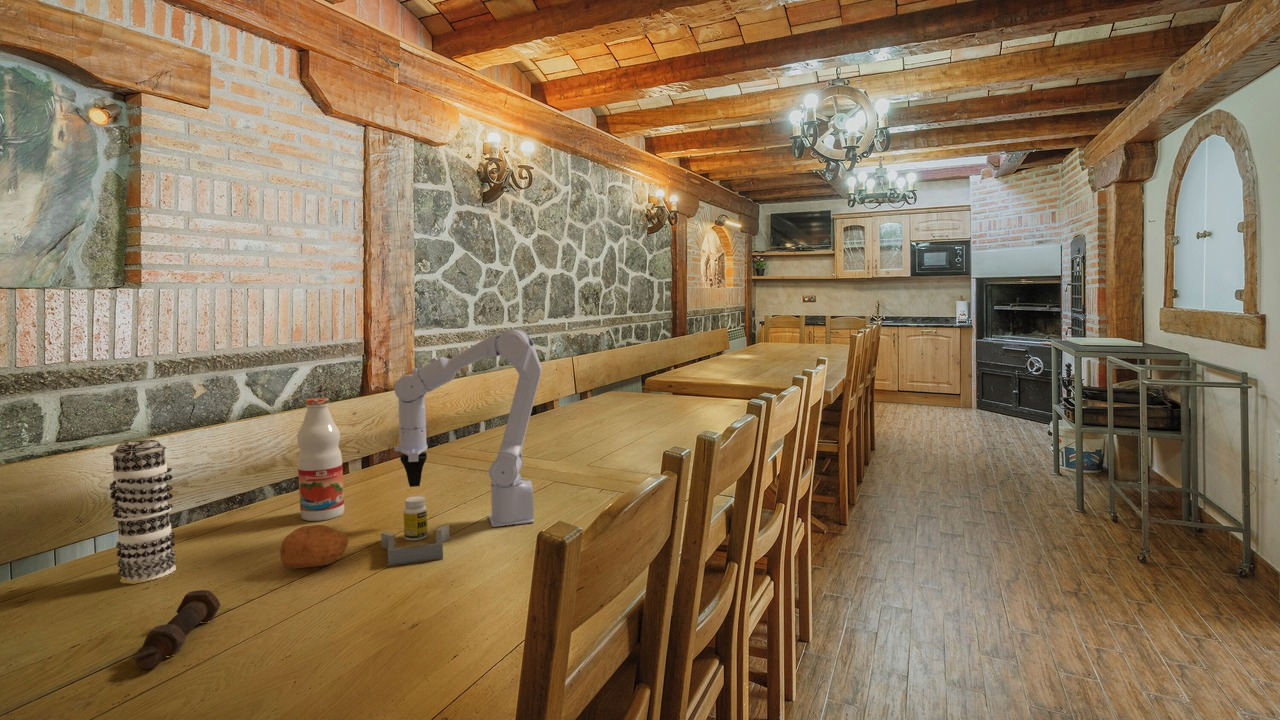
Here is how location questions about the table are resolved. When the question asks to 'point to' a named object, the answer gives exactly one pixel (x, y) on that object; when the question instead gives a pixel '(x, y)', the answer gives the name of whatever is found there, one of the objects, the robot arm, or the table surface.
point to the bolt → (177, 628)
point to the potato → (312, 547)
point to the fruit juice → (320, 464)
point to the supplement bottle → (415, 519)
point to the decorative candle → (142, 510)
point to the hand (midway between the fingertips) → (414, 485)
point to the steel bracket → (414, 549)
